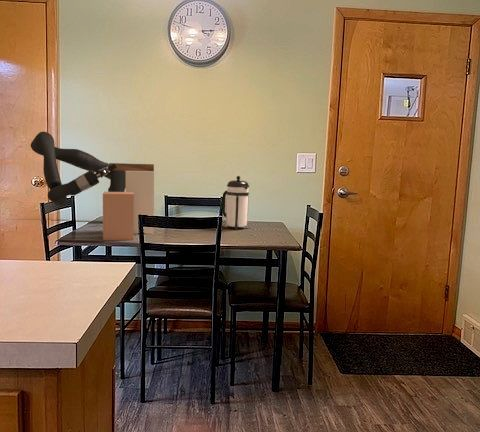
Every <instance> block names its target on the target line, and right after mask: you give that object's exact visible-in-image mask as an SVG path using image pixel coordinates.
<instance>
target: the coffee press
mask: <svg viewBox="0 0 480 432" xmlns="http://www.w3.org/2000/svg"><path fill="white" fill-rule="evenodd" d="M235 179H236V180H234V179H233V180H230V181H228V183H227V184H226V188H227V190H225V191H224V192H223V194H222V198H221V213H222V215H223V217H224V218H225V223H224V225H225V226H223V228H225V229H227V227H232V228H234V231H238V228H246V229H250V226H249V223H248V218H249V217H248V214H249V195H250V192H249V188H250V185H249V183H248V182H247V181H246V180H241V176H240V175H237V176H236V178H235ZM247 226H248V227H247Z"/></svg>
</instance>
